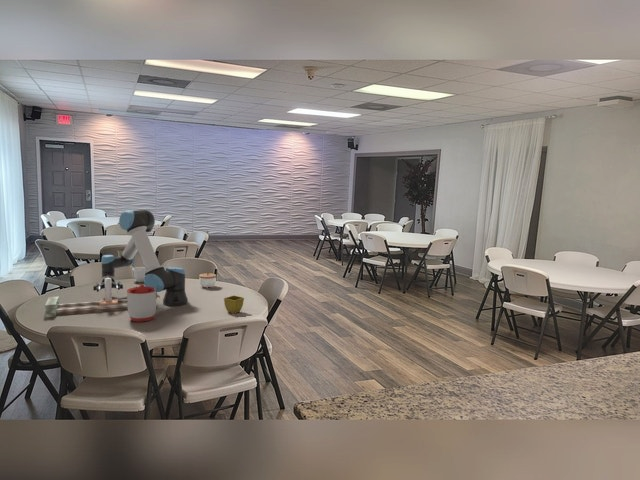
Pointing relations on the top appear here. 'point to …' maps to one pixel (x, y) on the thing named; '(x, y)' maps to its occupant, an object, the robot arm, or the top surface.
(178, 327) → the top surface
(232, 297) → the flower pot
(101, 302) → the carriage
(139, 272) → the teacup
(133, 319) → the citrus juicer
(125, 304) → the rail
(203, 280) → the lidded bowl
